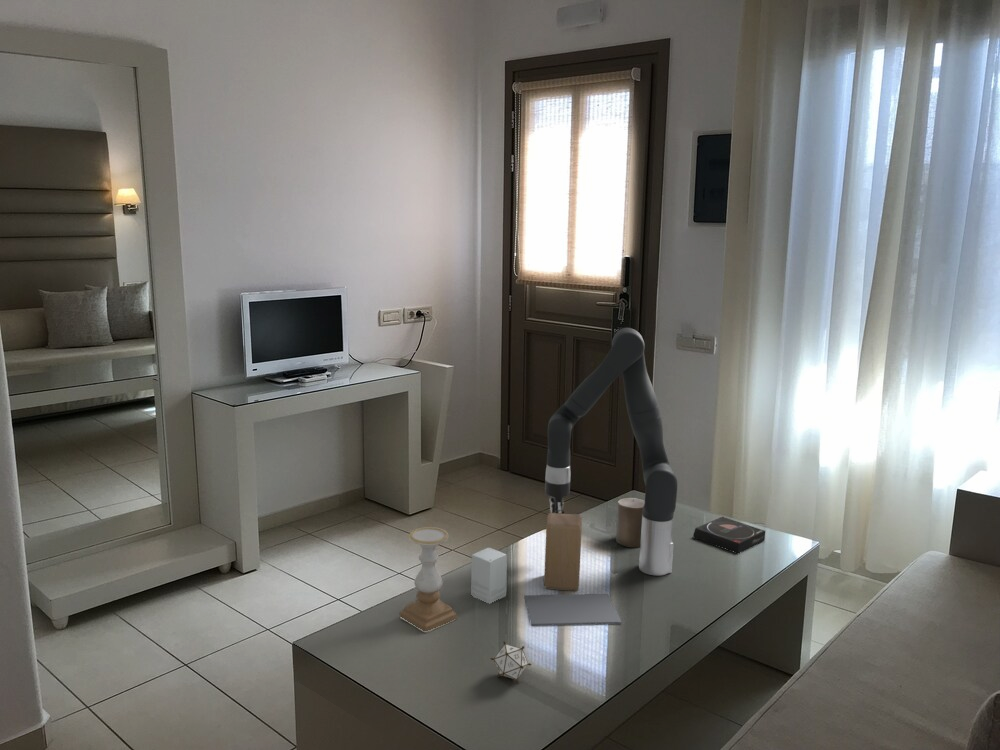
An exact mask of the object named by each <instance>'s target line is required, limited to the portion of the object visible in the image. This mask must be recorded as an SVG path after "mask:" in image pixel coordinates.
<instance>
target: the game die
mask: <svg viewBox="0 0 1000 750" xmlns="http://www.w3.org/2000/svg"><path fill="white" fill-rule="evenodd" d="M524 649H525V645H523V646H521V647H520V646H519V647H518V646H515V645H511V644H507V642H506V641H505V640H503V645H502V647H501V649H500V650H499V651H498V652H497V654H496V655H495V656H494V657H490V660H491V661H493V662H494V664H495V666H496V669H497V672H498V675H497V677H498V678H500V677H505V678H509V679H513V680H515V681H516V682H515V683H517V684H519V681H520V680H519V678H520V676H521V675H522V674H523V673H524V671H525V670H526V669H527V667H528V666H532V664H531V663H529V662H528V659H527V657H526V655H525V652H524Z"/></svg>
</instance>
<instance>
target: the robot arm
mask: <svg viewBox="0 0 1000 750" xmlns="http://www.w3.org/2000/svg"><path fill="white" fill-rule="evenodd" d="M597 366H598V367H597V368H596V369H594V370H593V371H592V372H591V373H590V374H589V375H588V376H587V377H586V378H584V380H583V381H582V382H581V383H580V384H578V386H577V387H576V388H575V389H574V390H573V392H572V393H571V394H570V396H569V397H568V399H567V400H566V401H565V402H564V403H563V404H562V405H561V406H560V407H559V408H558V409H557V410H556V411H554V413H553V414H552V416H551V417H550V418H549V421H548V424H547V425H548V426H547V451H546V452H547V453H546V468H545V479H544V480H545V481H544V484H545V485H544V493H545V495H547V496H548V497H549V512H550V513H560V514H565V510H564V507H565V501H564V498H565V497H568V496H569V495H570V493H571V492H570V491H571V473H572V472H571V448H570V447H571V438H572V431H573V430H572V429H573V428H574V426H575V425H576V424H577V422H578V421H579V420H580V419H581V418H582V417H584V416H586V414H587V413H588V412H589V411H591V409H592V408H593V407H594V405H596V403H597V402H598V401H599V400H600V398H601V397H602V396H603V394H604V393H605V392H606V391H607V390H608V388H609V387H610V386H611V385H612V384H613V382H615V380H617V378H618V377H620V376H622V380H623V381H622V383H623V390H624V398H625V399H624V400H625V404H626V411H627V415H628V420H629V423H630V426H631V430H632V432H633V433H632V434H633V436H634V438H635V440H636V443H637V446H638V448H639V449H638V450H639V453H640V459H641V466H642V475H643V481H644V482H643V483H644V485H645V490H644V491H645V495H644V501H645V503H644V506H643V512H642V528H641V543H640V547H639V560H638V569H639V571H641V572H642V573H644V574H647V575H651V576H664V575H667V574H672V571H673V557H674V542H673V541H672V539H673V529H674V528H673V526H674V514H675V511H676V505H677V496H678V495H677V494H678V479H677V476H676V474H675V472H674V470H673V468H672V466H671V464H670V460H669V459H668V455H667V453H666V452H667V451H666V449H665V444H664V428H663V420H662V414H661V410H660V406H659V401H658V398H657V395H656V392H655V390H654V386H653V384H652V382H651V380H650V376H649V373H648V369H647V366H646V358H645V341H644V339H643V336H642V335H641V334H640V332H638V331H637V330H636V329H633V328H632V327H624V328H623V327H622V328H621V329H619V330H618V331H617V332H616V333H615V334H614V335H613V337H612V341H611V348H610V350H609V351H608V352H607V354H606V356H605V358H604V359H603V360H602V361H601V363H600V364H599V365H597Z"/></svg>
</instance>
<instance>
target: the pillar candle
mask: <svg viewBox="0 0 1000 750" xmlns="http://www.w3.org/2000/svg"><path fill="white" fill-rule="evenodd" d="M644 503H645V499H644V500H643V499H640V498H636V497H627V498H626V497H625V498H621V499H619V500H618V501H617V515H616V516H617V520H616V535H615V537H616V538H615V542H616V543H617V544H619V545H621V546H622V547H623V546H624V547H627V548H640V543H641V528H642V512H643V506H644Z"/></svg>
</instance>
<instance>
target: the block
mask: <svg viewBox="0 0 1000 750" xmlns="http://www.w3.org/2000/svg"><path fill="white" fill-rule="evenodd" d="M582 525H583V522H582V515H580V514H575V513H564V514H560V513H551V512H550V513H548V514H547V516H546V526H545V527H546V528H545V529H546V530H545V549H544V550H545V555H544V578H543V579H544V580H543V586H544V588H545V589H547V590H560V591H571V592H572V591H573V592H576V591H578V590H579V589H580V588H579V587H580V571H581V552H582V534H583V533H582V532H583V531H582V529H583V526H582Z"/></svg>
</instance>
